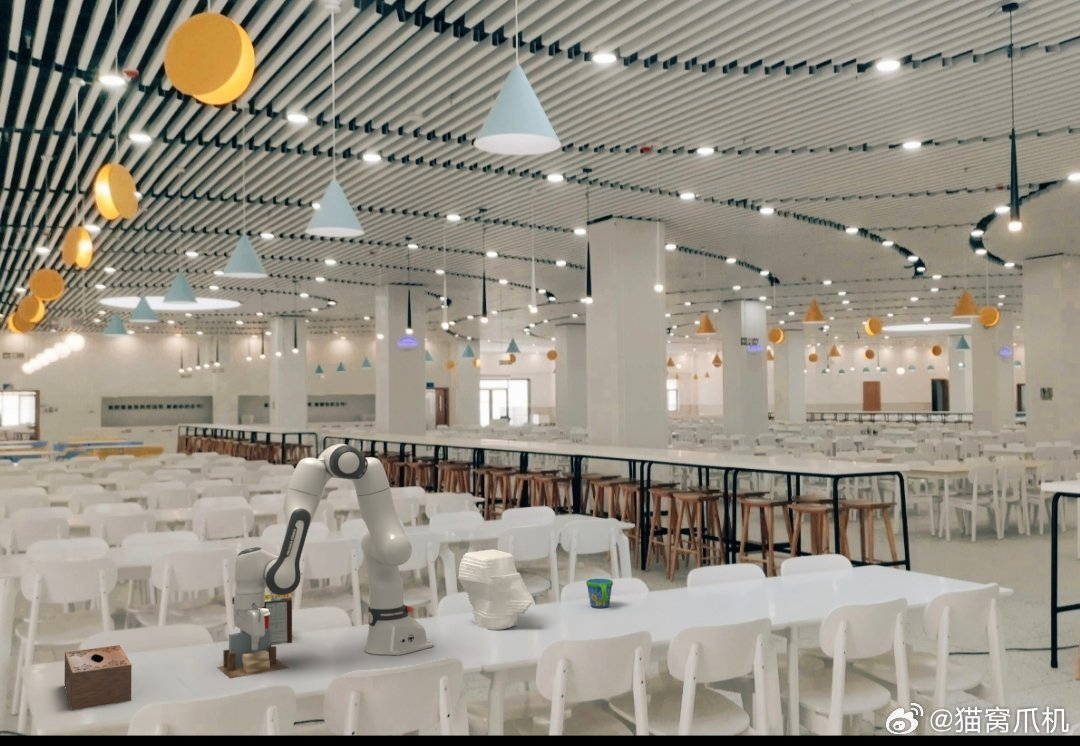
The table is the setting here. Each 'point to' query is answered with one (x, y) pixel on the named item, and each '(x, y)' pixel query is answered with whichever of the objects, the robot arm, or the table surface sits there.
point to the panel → (247, 645)
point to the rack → (234, 672)
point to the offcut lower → (257, 667)
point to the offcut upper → (255, 657)
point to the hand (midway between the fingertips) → (249, 646)
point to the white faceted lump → (494, 588)
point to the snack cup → (599, 592)
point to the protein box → (279, 617)
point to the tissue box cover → (97, 677)
